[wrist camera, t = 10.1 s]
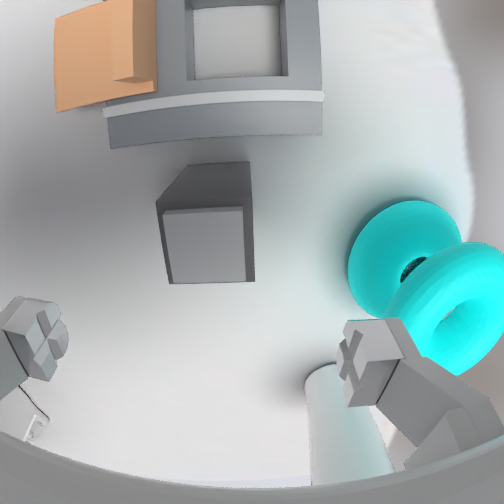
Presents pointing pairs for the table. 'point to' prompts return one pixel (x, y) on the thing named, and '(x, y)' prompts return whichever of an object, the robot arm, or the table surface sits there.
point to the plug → (208, 225)
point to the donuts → (430, 283)
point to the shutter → (105, 53)
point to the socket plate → (224, 84)
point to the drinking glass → (341, 433)
